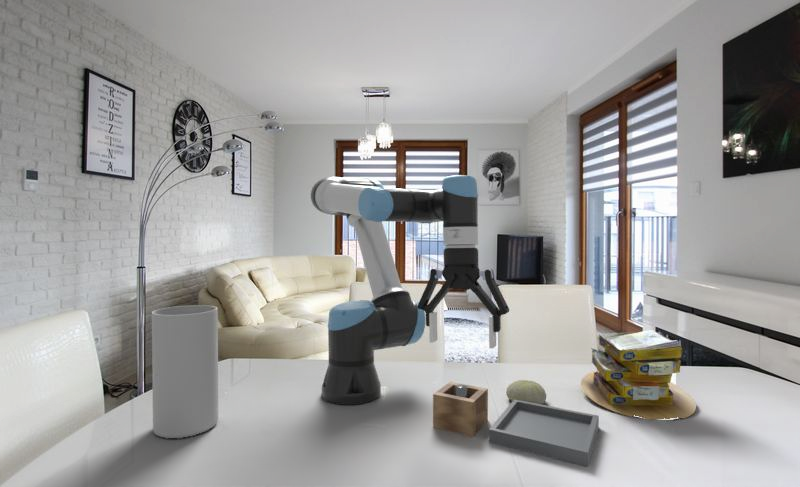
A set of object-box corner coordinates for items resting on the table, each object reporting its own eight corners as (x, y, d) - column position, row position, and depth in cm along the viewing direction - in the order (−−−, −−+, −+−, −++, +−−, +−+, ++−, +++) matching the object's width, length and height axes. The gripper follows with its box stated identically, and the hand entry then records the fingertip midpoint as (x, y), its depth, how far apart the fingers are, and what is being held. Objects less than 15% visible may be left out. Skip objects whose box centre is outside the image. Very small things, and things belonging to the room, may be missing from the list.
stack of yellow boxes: (715, 426, 92) (716, 348, 92) (591, 414, 98) (592, 341, 97) (671, 386, 116) (672, 325, 116) (573, 379, 122) (574, 320, 121)
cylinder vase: (231, 418, 95) (230, 306, 95) (186, 444, 84) (185, 317, 83) (187, 411, 100) (186, 304, 99) (138, 434, 88) (137, 313, 87)
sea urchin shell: (552, 402, 100) (527, 376, 101) (527, 424, 101) (503, 398, 102) (547, 388, 109) (524, 365, 110) (524, 408, 110) (501, 385, 111)
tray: (488, 441, 85) (489, 429, 85) (514, 409, 100) (514, 399, 100) (587, 466, 76) (587, 452, 76) (598, 427, 91) (598, 415, 91)
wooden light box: (433, 426, 91) (433, 394, 91) (454, 408, 101) (454, 378, 101) (473, 436, 87) (473, 402, 87) (491, 416, 97) (491, 385, 97)
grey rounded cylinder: (452, 424, 93) (453, 387, 92) (457, 419, 95) (457, 383, 95) (464, 427, 91) (464, 389, 91) (468, 422, 94) (468, 386, 93)
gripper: (402, 247, 96) (403, 342, 96) (514, 246, 85) (515, 353, 85) (416, 247, 103) (418, 335, 103) (522, 246, 91) (523, 345, 91)
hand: (462, 344), depth 94 cm, fingers open, 13 cm apart
